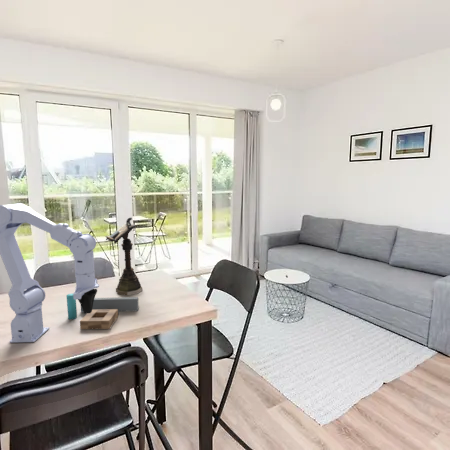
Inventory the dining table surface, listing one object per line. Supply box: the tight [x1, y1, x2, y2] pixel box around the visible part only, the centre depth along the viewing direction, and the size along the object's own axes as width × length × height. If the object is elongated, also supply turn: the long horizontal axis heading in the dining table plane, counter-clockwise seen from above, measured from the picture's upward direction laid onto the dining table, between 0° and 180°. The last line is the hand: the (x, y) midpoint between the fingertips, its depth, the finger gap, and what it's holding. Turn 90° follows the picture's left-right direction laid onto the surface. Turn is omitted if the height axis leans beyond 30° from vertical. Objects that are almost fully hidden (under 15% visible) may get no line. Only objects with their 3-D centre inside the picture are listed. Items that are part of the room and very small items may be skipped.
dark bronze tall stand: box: [105, 217, 143, 296], centre depth 145 cm, size 17×13×35 cm
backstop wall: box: [80, 296, 139, 313], centre depth 128 cm, size 4×22×5 cm, turn 92°
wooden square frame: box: [79, 309, 119, 330], centre depth 116 cm, size 10×10×3 cm
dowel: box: [66, 293, 78, 321], centre depth 120 cm, size 3×3×9 cm
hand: (87, 312), depth 105 cm, fingers closed
